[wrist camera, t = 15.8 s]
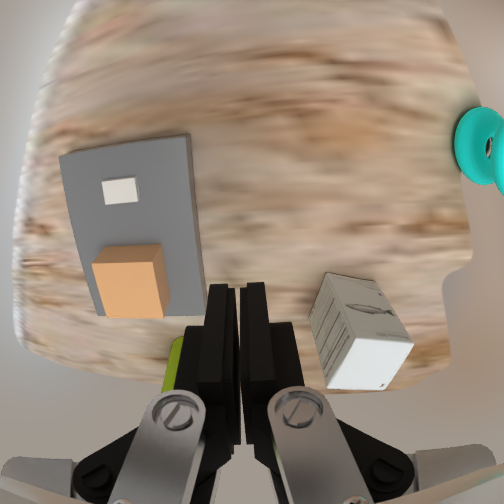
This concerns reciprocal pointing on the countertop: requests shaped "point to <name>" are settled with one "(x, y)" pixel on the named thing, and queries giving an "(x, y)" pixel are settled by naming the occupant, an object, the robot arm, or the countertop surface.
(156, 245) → the plug
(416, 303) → the countertop surface
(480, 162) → the donuts
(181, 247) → the socket
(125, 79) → the countertop surface
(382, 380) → the supplement box
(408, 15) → the countertop surface
